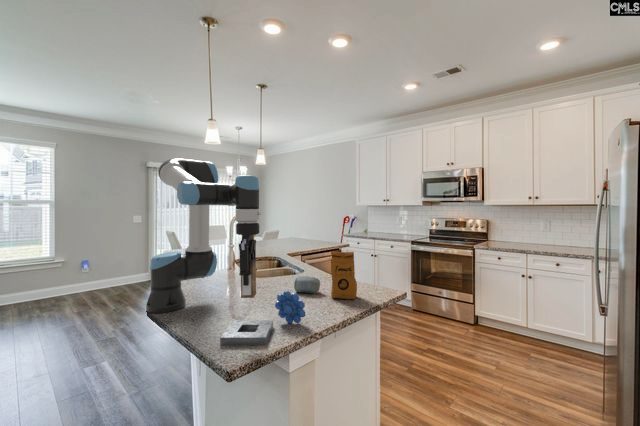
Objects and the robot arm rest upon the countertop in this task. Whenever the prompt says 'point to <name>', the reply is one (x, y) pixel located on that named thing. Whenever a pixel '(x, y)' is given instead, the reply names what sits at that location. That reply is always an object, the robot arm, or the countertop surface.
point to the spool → (307, 284)
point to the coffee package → (343, 276)
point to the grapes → (290, 307)
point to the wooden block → (253, 280)
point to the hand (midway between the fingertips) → (248, 292)
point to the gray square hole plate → (247, 333)
